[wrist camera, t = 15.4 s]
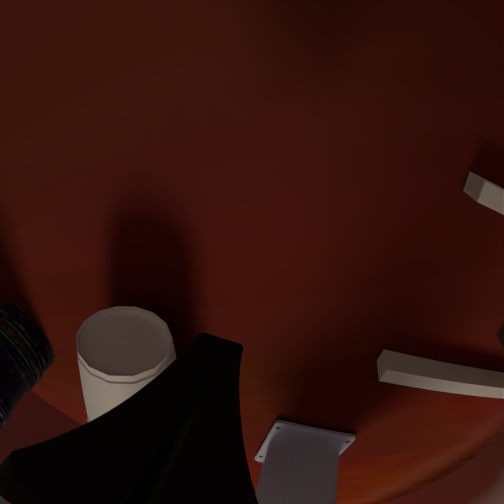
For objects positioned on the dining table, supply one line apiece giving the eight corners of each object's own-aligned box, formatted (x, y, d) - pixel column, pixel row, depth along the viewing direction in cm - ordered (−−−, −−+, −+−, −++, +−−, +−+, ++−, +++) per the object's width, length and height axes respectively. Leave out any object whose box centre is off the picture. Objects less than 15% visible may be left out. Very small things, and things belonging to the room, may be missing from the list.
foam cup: (202, 302, 23) (195, 401, 29) (85, 283, 22) (107, 385, 28) (185, 413, 15) (186, 486, 21) (31, 376, 14) (83, 463, 20)
